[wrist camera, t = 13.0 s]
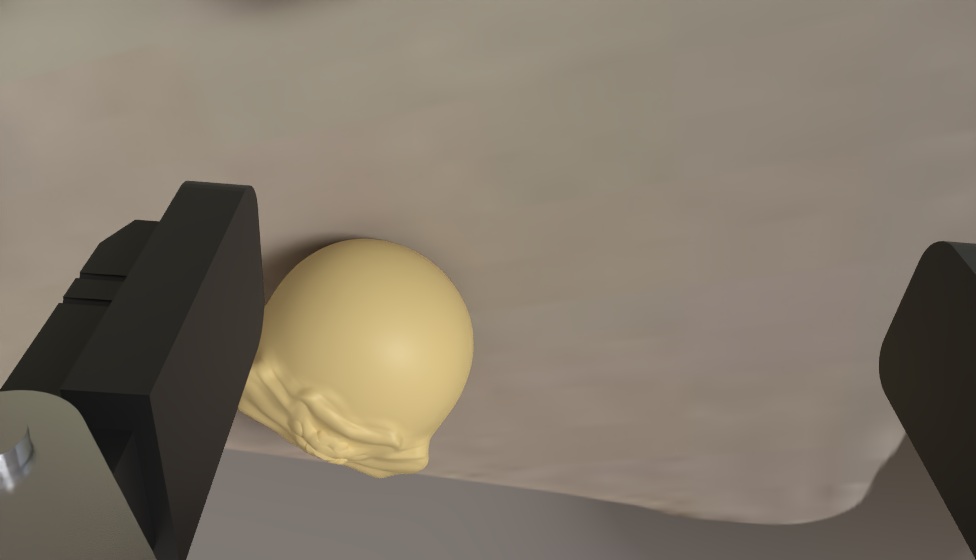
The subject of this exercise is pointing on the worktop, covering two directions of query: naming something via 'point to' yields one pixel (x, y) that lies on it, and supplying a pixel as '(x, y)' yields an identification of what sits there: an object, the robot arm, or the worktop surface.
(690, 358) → the worktop surface
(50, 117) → the worktop surface
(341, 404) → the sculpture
